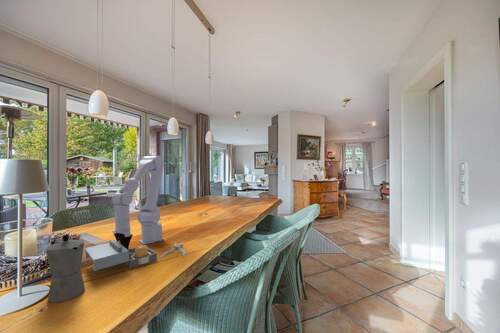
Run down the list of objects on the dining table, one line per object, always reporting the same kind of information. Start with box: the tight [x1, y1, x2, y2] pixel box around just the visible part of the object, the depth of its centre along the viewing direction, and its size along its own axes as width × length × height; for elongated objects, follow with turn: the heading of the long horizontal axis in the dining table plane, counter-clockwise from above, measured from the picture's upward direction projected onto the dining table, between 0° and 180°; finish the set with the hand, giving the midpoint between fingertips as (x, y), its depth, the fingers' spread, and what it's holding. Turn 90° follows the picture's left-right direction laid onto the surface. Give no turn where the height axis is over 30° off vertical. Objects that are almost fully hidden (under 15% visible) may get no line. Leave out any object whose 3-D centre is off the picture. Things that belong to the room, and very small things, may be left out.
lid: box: [84, 238, 129, 272], centre depth 84 cm, size 11×16×5 cm
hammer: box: [159, 242, 186, 259], centre depth 100 cm, size 10×2×15 cm
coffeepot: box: [45, 234, 86, 304], centre depth 68 cm, size 15×9×18 cm, turn 62°
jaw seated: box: [135, 244, 148, 258], centre depth 89 cm, size 4×4×6 cm
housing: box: [123, 246, 158, 270], centre depth 92 cm, size 10×15×3 cm, turn 45°
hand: (123, 249), depth 100 cm, fingers open, 5 cm apart
